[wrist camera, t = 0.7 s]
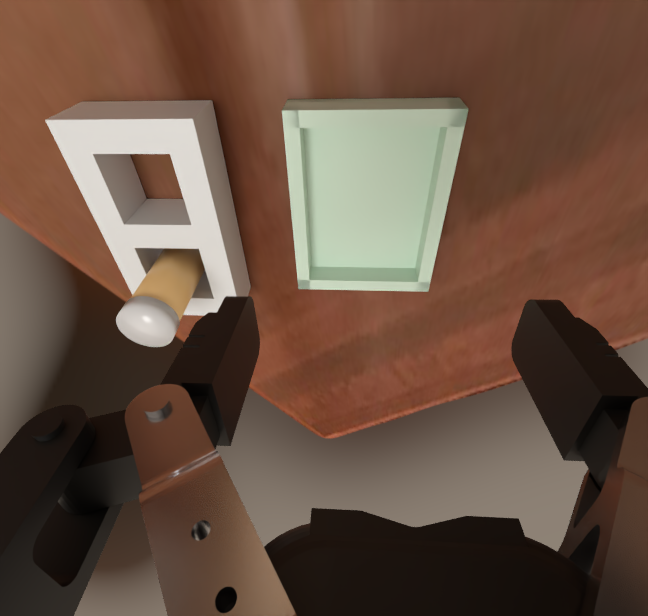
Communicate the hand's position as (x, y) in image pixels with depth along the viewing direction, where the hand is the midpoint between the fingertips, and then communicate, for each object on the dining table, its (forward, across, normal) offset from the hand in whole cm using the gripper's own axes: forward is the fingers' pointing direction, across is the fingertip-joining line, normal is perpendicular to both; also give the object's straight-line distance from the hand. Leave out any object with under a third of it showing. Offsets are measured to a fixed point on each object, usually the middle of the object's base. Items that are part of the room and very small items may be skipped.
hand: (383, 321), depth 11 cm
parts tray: (+19, 0, +3) cm, 19 cm away
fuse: (+20, +15, +7) cm, 26 cm away
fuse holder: (+19, +15, +4) cm, 25 cm away
